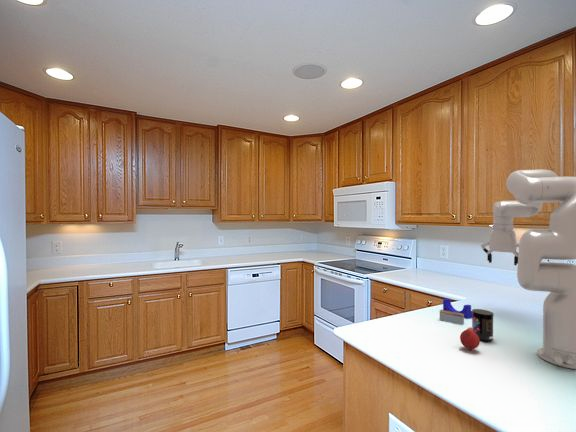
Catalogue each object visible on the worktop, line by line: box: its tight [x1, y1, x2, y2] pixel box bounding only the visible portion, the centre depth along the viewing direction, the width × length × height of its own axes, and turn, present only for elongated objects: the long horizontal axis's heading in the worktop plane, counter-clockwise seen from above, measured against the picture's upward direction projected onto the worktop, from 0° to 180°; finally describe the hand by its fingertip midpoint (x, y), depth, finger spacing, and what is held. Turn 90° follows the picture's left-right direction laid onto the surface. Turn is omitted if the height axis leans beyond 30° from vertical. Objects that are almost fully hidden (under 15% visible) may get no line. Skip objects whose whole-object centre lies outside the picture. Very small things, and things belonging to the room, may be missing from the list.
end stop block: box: [439, 309, 465, 326], centre depth 127 cm, size 3×9×4 cm, turn 49°
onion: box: [459, 326, 481, 351], centre depth 100 cm, size 6×6×8 cm
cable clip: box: [442, 298, 472, 320], centre depth 137 cm, size 12×4×6 cm, turn 24°
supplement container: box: [471, 308, 494, 343], centre depth 109 cm, size 7×7×10 cm
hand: (502, 263), depth 136 cm, fingers open, 9 cm apart
